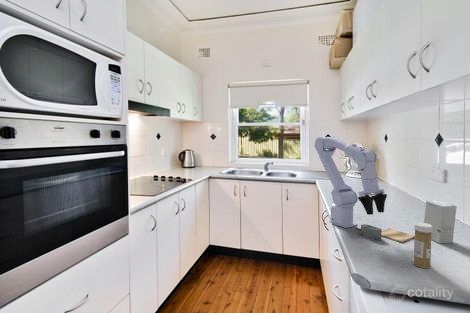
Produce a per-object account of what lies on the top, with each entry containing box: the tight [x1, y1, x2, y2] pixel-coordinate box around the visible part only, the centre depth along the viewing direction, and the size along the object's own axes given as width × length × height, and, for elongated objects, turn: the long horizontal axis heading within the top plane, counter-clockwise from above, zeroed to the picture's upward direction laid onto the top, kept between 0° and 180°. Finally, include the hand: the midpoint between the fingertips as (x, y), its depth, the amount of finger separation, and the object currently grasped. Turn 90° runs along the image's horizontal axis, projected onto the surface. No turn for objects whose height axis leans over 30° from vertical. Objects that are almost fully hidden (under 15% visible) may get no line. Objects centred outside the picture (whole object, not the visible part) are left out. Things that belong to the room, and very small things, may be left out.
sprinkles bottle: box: [413, 221, 432, 270], centre depth 82 cm, size 5×5×13 cm
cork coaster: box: [381, 228, 415, 244], centre depth 106 cm, size 10×10×1 cm
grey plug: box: [355, 223, 383, 242], centre depth 106 cm, size 10×4×4 cm, turn 32°
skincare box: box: [423, 199, 457, 244], centre depth 101 cm, size 8×6×15 cm
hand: (375, 213), depth 104 cm, fingers open, 7 cm apart
